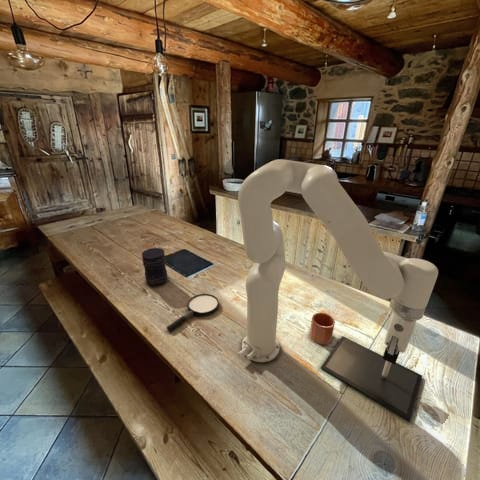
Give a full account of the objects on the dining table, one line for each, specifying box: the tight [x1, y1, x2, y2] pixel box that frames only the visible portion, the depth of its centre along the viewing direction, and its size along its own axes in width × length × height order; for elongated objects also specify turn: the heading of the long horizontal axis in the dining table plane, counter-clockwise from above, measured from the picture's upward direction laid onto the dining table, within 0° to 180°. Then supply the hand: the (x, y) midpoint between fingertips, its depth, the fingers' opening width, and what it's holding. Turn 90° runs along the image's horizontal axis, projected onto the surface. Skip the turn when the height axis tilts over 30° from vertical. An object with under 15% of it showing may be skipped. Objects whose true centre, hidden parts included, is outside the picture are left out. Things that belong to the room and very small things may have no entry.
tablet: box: [320, 335, 423, 422], centre depth 80 cm, size 17×24×1 cm
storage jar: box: [141, 247, 168, 288], centre depth 122 cm, size 10×10×15 cm
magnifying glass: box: [166, 293, 220, 333], centre depth 104 cm, size 12×24×2 cm, turn 143°
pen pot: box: [309, 312, 336, 345], centre depth 92 cm, size 7×8×8 cm
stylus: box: [381, 347, 397, 379], centre depth 75 cm, size 1×1×13 cm
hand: (389, 358), depth 75 cm, fingers closed on stylus, 1 cm apart
